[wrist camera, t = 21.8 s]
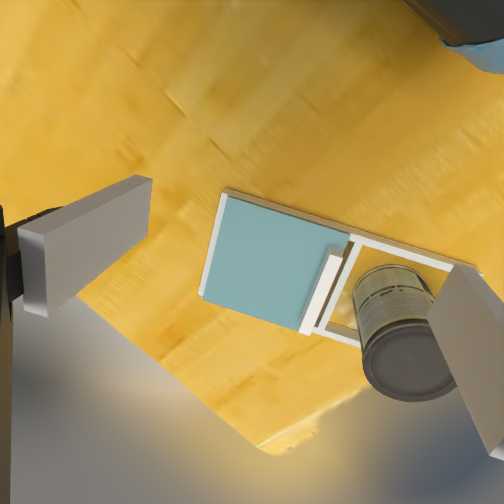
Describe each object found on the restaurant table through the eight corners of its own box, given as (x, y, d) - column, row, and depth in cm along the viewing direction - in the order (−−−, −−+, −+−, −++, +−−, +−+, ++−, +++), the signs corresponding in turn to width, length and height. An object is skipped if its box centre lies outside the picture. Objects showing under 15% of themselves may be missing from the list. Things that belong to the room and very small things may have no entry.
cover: (228, 195, 45) (221, 203, 41) (350, 233, 44) (352, 244, 41) (203, 297, 51) (195, 311, 48) (308, 332, 51) (307, 348, 47)
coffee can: (446, 288, 48) (493, 358, 35) (395, 338, 52) (420, 417, 39) (382, 249, 47) (406, 306, 34) (337, 303, 51) (343, 371, 39)
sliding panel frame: (226, 187, 47) (221, 192, 45) (475, 265, 46) (483, 274, 43) (202, 286, 54) (197, 294, 52) (418, 356, 52) (422, 368, 50)
